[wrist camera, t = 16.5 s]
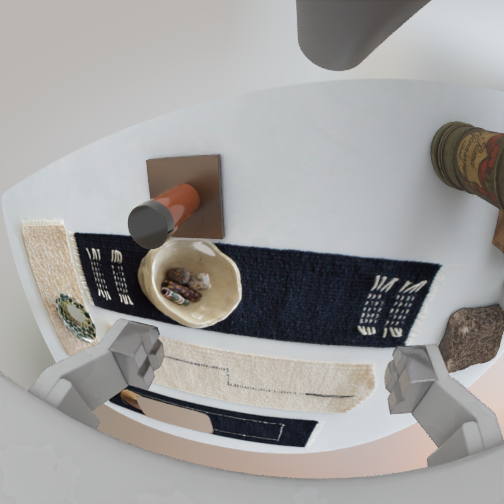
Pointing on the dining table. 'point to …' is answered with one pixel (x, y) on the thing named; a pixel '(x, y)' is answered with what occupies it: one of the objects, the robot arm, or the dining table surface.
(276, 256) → the dining table surface
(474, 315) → the stone
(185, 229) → the board
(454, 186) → the container
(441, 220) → the dining table surface
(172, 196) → the spice jar
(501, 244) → the spice rack
